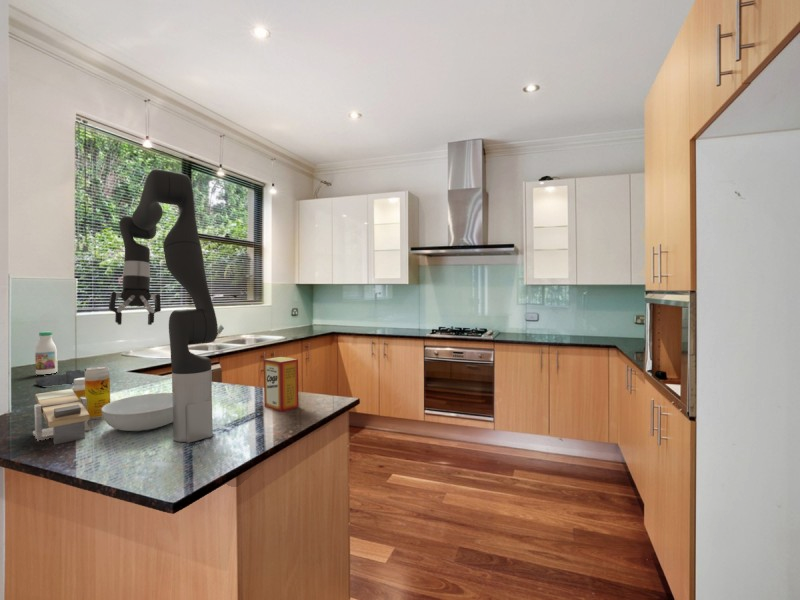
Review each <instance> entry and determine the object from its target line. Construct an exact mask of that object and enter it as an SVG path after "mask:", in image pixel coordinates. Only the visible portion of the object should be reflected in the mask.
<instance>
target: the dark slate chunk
mask: <svg viewBox="0 0 800 600" xmlns="http://www.w3.org/2000/svg"><path fill="white" fill-rule="evenodd" d="M86 369H87V368H84V370H81V369H76V370H66V371H65V374H55V375H49V376H46V377H45V376H44V377H43V376H42V377H41V378H37V379H35V381H34V383H35V384H37V386H38V387H40V386H52V385H62V384H70V385H73V384H72V383H74V379H77V378H85V371H86Z"/></svg>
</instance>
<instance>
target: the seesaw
mask: <svg viewBox="0 0 800 600" xmlns="http://www.w3.org/2000/svg"><path fill="white" fill-rule="evenodd" d="M34 398H35V401H36V403H37V404H40V405H41V415H42V416H43V418H44V420H45V422H46V424H47V426H48V428H52V427H56V426H61V425H66V424H71V423H77V422H82V421H87V422H88V421H90V419H89V413H88V412H87V410H86V409H85V407H84V406H83V405H82V403H81V402H80V400H79V399H78V397H77V396H76V394H75V393H74V391H73V390H72V389H71V388H68V389H61V390H60V389H59V390H55V391H54V390H53V391H47V392H42V393H41V392H40V393H35V397H34Z"/></svg>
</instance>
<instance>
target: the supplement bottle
mask: <svg viewBox="0 0 800 600" xmlns="http://www.w3.org/2000/svg"><path fill="white" fill-rule="evenodd" d="M70 389H72V390H73V391H74V393H75V394H76V396H77V397H78V399H79V400H80V397H85V378H77V379H74V384H73V386H72V387H71V388H70Z"/></svg>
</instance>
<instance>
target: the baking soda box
mask: <svg viewBox="0 0 800 600" xmlns="http://www.w3.org/2000/svg"><path fill="white" fill-rule="evenodd" d="M263 386H264V387H263V389H264V390H263V394H264V395H263V396H264V399H263V401H264V404H263V405H264V408H267V409H271V410H274V411H277V412H279V413H282V412H286V411H290V410H294V409H298V408H299V405H300V404H299V403H300V402H299V400H300V398H299V360H298V359H296V358H292V357H284V356H278V357H277V356H276V357H269V358H265V359H263Z"/></svg>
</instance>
